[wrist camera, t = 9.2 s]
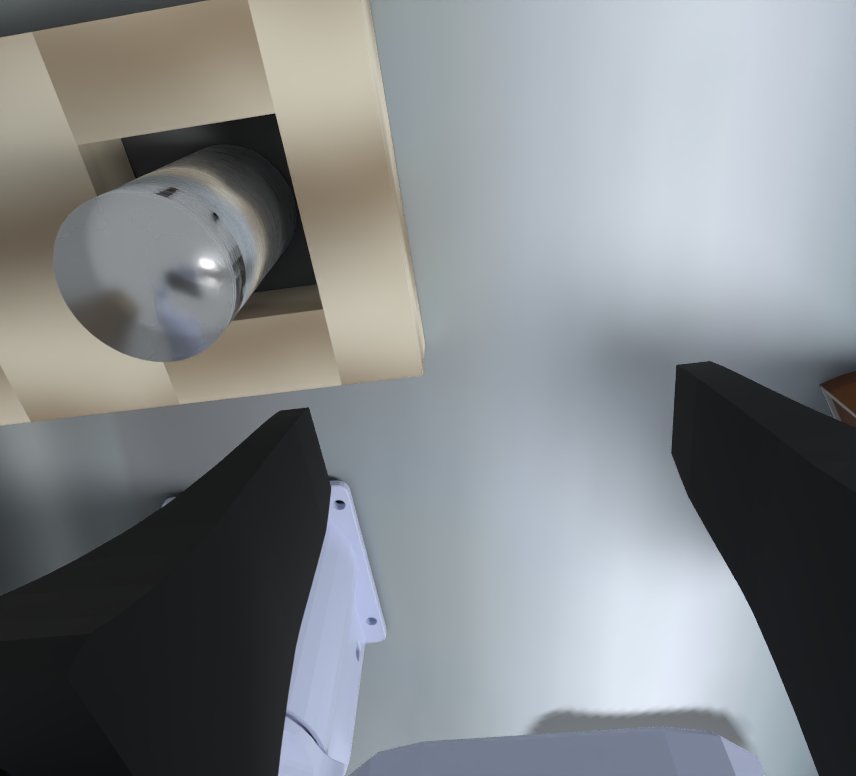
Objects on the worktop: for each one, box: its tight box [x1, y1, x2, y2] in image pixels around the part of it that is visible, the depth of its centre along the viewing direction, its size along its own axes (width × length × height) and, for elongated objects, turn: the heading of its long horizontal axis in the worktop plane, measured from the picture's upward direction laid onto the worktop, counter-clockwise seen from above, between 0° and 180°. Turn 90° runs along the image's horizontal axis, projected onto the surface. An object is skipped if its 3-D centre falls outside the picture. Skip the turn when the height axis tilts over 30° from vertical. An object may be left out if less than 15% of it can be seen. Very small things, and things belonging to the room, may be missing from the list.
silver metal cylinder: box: [53, 144, 296, 362], centre depth 17 cm, size 4×4×7 cm
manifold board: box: [0, 0, 425, 425], centre depth 19 cm, size 11×20×2 cm, turn 98°
